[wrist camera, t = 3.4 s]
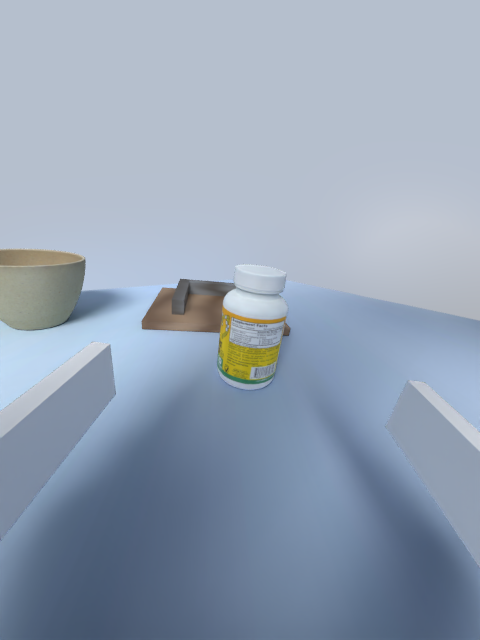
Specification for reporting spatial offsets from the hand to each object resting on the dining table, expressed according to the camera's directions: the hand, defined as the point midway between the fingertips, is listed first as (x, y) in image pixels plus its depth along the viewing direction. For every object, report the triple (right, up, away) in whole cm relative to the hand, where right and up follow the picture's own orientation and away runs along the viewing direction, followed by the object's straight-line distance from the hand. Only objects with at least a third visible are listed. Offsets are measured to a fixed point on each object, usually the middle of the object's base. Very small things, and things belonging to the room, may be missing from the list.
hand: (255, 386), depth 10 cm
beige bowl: (-23, +3, +16) cm, 28 cm away
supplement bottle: (0, -2, +11) cm, 11 cm away
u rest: (-4, +4, +24) cm, 25 cm away
